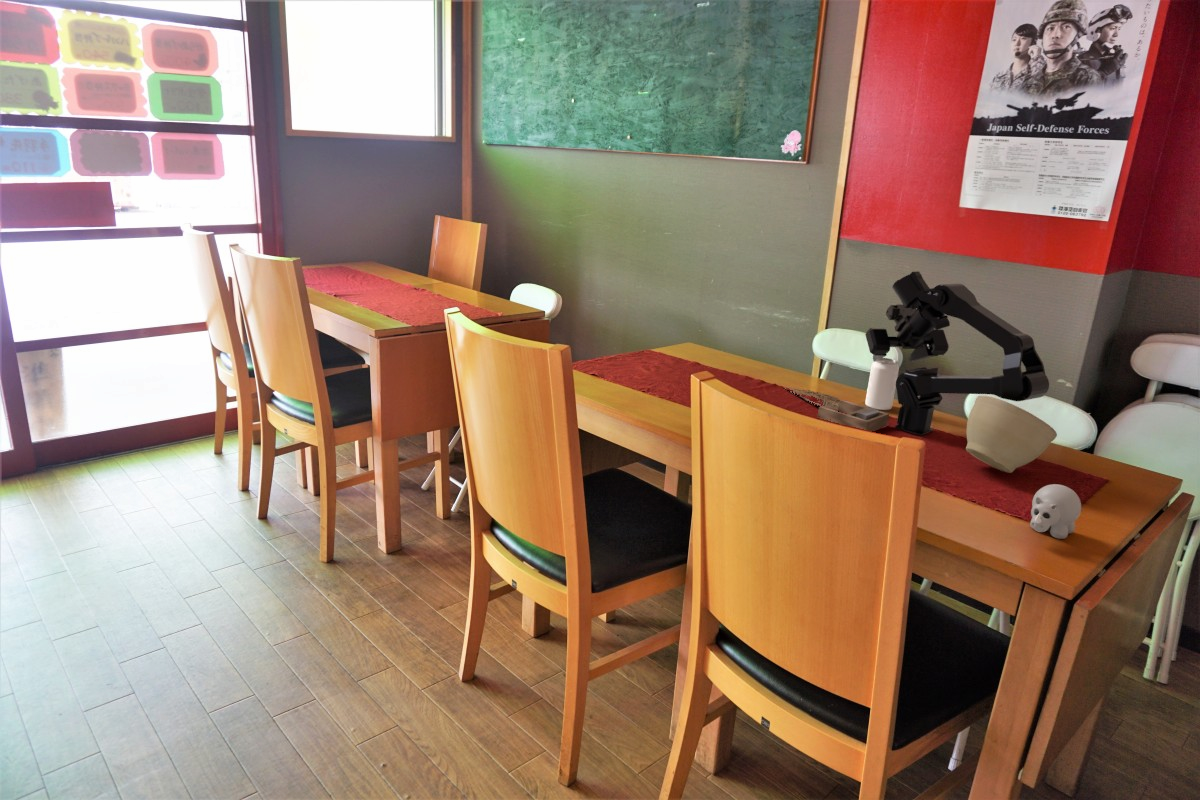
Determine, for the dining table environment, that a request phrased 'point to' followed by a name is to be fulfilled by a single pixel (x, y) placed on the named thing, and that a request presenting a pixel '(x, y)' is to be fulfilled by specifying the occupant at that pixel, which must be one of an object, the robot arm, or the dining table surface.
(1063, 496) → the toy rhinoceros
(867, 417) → the grey block
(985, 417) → the planter bowl
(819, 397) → the wooden fragment
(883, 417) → the tray
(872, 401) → the can
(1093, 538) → the dining table surface
